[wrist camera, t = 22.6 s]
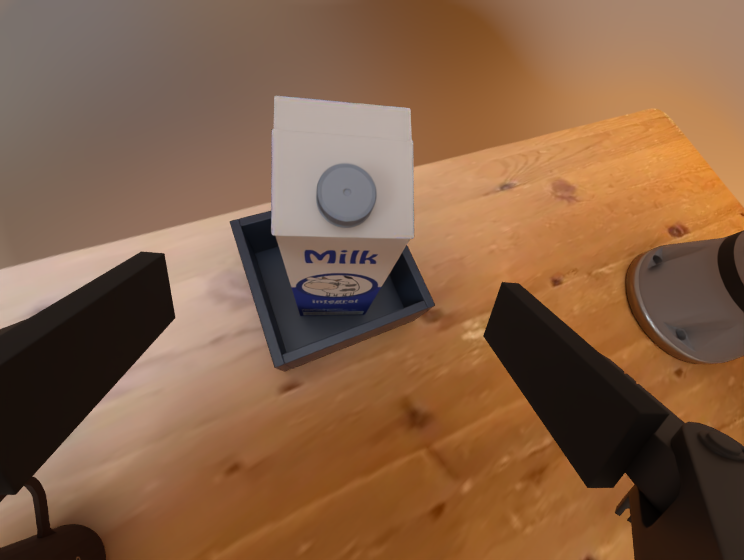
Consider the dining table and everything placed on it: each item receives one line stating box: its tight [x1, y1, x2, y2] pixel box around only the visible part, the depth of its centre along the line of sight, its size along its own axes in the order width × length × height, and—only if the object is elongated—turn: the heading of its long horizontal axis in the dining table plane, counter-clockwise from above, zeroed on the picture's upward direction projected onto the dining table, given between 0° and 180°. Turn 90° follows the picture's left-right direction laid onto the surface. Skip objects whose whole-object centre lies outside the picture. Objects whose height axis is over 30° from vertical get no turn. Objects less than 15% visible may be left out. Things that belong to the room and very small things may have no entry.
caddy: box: [230, 211, 435, 372], centre depth 30 cm, size 15×14×7 cm
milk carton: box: [271, 96, 414, 316], centre depth 24 cm, size 7×7×20 cm
